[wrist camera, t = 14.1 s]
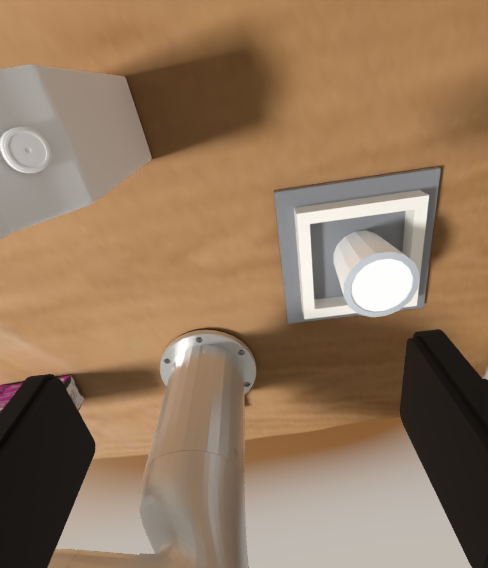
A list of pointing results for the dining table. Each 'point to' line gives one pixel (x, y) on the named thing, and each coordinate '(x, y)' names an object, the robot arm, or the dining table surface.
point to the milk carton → (63, 141)
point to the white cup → (374, 274)
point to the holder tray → (343, 221)
